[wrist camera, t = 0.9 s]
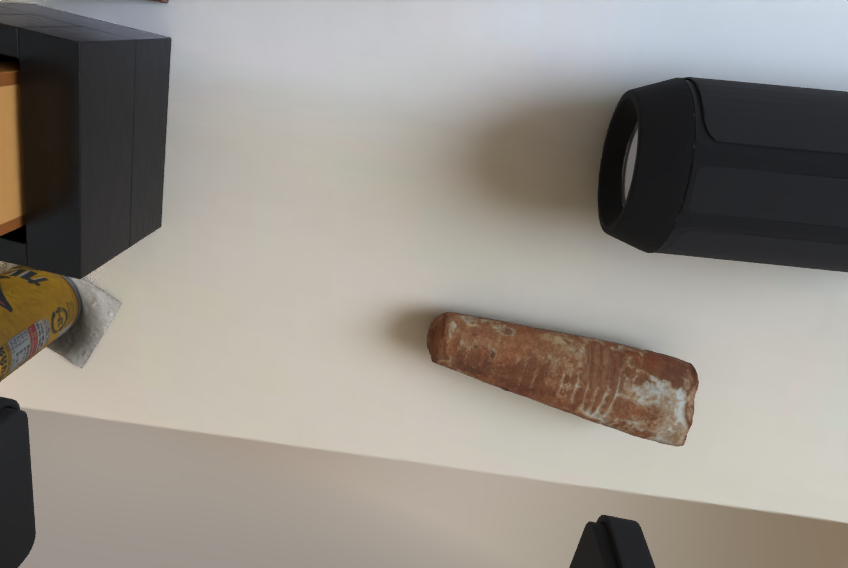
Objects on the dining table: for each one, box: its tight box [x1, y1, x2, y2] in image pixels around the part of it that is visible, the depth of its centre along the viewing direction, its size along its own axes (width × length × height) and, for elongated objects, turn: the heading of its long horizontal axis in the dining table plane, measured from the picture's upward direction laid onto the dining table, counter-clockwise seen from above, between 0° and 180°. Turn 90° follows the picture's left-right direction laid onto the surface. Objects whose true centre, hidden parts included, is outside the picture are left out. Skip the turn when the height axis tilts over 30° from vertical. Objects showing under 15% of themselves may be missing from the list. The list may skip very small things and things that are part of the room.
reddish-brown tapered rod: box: [427, 312, 699, 446], centre depth 43 cm, size 6×19×6 cm, turn 74°
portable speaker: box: [598, 77, 848, 272], centre depth 35 cm, size 26×10×10 cm, turn 85°
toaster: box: [0, 3, 171, 279], centre depth 37 cm, size 13×10×10 cm
